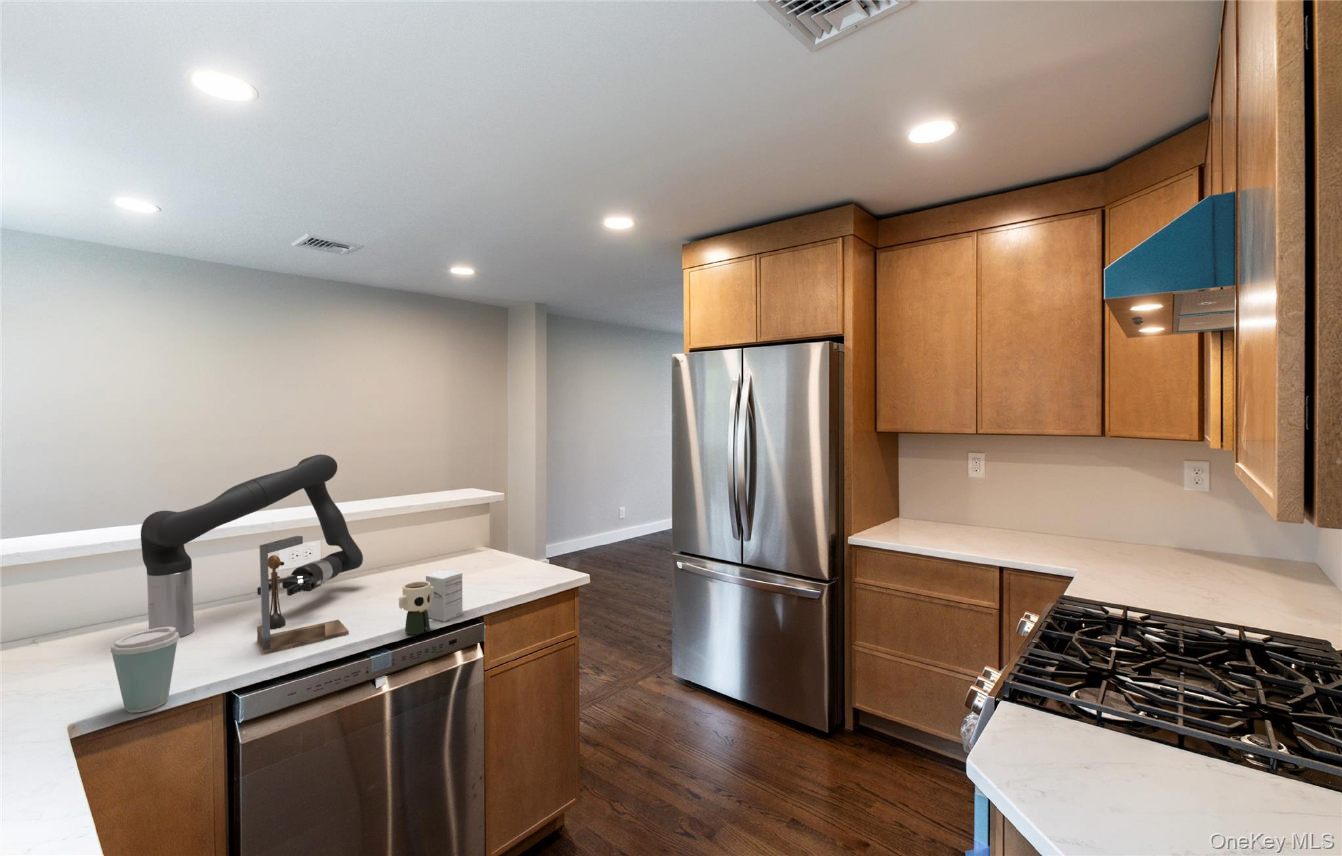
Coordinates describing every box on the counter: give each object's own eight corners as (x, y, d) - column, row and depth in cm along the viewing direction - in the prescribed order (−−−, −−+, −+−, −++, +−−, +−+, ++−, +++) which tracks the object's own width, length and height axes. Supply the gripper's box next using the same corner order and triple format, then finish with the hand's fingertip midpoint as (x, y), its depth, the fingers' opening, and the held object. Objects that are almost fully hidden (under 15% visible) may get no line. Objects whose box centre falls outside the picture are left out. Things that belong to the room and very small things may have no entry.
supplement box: (425, 618, 171) (424, 575, 171) (445, 610, 178) (445, 568, 177) (443, 622, 168) (442, 578, 167) (463, 614, 174) (463, 572, 174)
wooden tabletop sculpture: (292, 625, 166) (290, 554, 165) (275, 631, 162) (273, 558, 161) (278, 622, 168) (276, 552, 167) (261, 627, 164) (259, 556, 163)
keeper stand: (263, 654, 147) (260, 546, 145) (257, 640, 155) (254, 538, 154) (348, 634, 159) (346, 535, 158) (338, 622, 167) (336, 528, 166)
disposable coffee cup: (99, 722, 116) (96, 646, 115) (132, 695, 126) (129, 626, 125) (164, 714, 119) (162, 640, 118) (191, 689, 129) (189, 621, 128)
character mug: (409, 641, 155) (408, 592, 154) (391, 636, 158) (390, 588, 157) (443, 627, 164) (442, 581, 164) (425, 623, 167) (424, 577, 167)
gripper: (289, 562, 180) (248, 578, 164) (334, 563, 179) (297, 579, 163) (290, 586, 180) (249, 604, 164) (335, 587, 179) (298, 605, 163)
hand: (273, 591), depth 164 cm, fingers open, 8 cm apart
